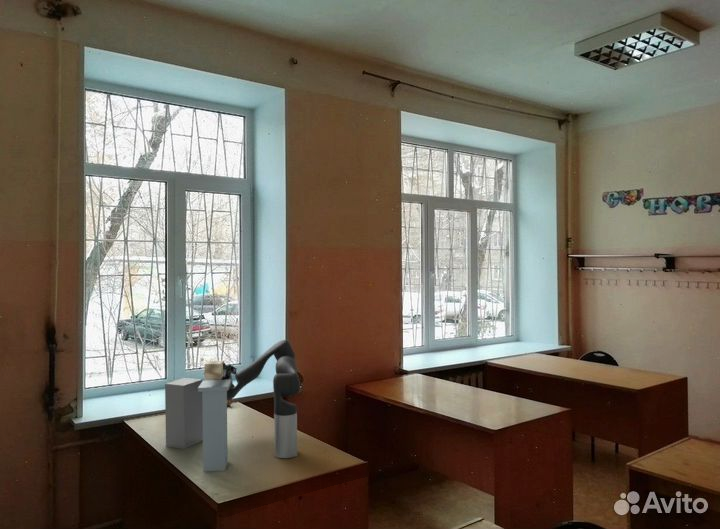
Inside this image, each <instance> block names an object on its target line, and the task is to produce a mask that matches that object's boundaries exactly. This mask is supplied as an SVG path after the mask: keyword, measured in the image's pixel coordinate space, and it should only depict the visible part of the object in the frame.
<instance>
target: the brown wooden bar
mask: <svg viewBox="0 0 720 529" xmlns="http://www.w3.org/2000/svg"><path fill="white" fill-rule="evenodd" d="M223 362H224V363H225V360H207V361H206V362H204V371H205V375H204V381H205V380H221V379H222V377H223Z"/></svg>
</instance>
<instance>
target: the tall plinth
mask: <svg viewBox="0 0 720 529" xmlns="http://www.w3.org/2000/svg"><path fill="white" fill-rule="evenodd" d="M230 385H231V380H205V379H204V380H202V383H201V384H200V386H199V387H198V392H202V406H203V440H202V460H203V461H202V463H203V464H202V466H203V467H202V471H203V472H217V471H218V472H219V471H220V472H221V471H226V468H227V464H228V461H229V459H228V453H229V452H228V406H227V391H228V389H229V387H230Z"/></svg>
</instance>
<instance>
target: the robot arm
mask: <svg viewBox="0 0 720 529" xmlns="http://www.w3.org/2000/svg"><path fill="white" fill-rule="evenodd" d="M273 356H274V358H275V360H276V362H275V374H274V376H273V380H272V384H273V386H272V388H273V402H274V403H273V406H274V407H273V412H274V413H273V419H274V420H273V423H274V424H273V426H274V429H273V430H274V432H273V433H274V435H273V436H274V438H273V440H274V448H273V449H274V456H275V457H276V458H279V459H291V458H294V457H298V415H297V414H298V407H297V404H295V403H293V402H289V401H287V400H285V399H283V398H284V397H295V396H298V394H299V393H300V391H301V380H300V377H299V374H298V372H297V368H298V367H297V365H296V364H297V363H296V354H295V351H294V349H293V347H292V346H291V343H290V342H289V340H288V339H282V340H280V341H278V342H276V343H275V344H273V345H272V346H271V347H269V349H267V350H265V352H264V353H263V354H261V355H260V356H259V357H258V358H257V359H255V360H254V361H253V362H251V363H249V365H247V366H245V367H244V368H242V369H241V370H239V371H238V372H237V369H238V368H236V367H234V366H233V365H231V364H226V363H225V361H224V362H223V377H222V379H221V380H231V385H230V387H229V389H228V391H227V400H231V399H232V400H233V399H234V398H235V397H236V396H237V395H238V393H239V392H240V391H241V390H242V389H243V388H245V387H246V386H247V385H248V384H250V383H251V382H253V381H254V380H256V379H257V378H258V377H259V376H260V374H261V373H262V372H263V371H262V370H263V369H264V367H265V365H266V363H267V362H268V361H269V359H270V358H272V357H273ZM203 372H204V373H203V374H204V376H205V370H204V371H203ZM232 375H235V376H234V377H235V381H236V383H237V384H236V385H234V383H233V376H232Z"/></svg>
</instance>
